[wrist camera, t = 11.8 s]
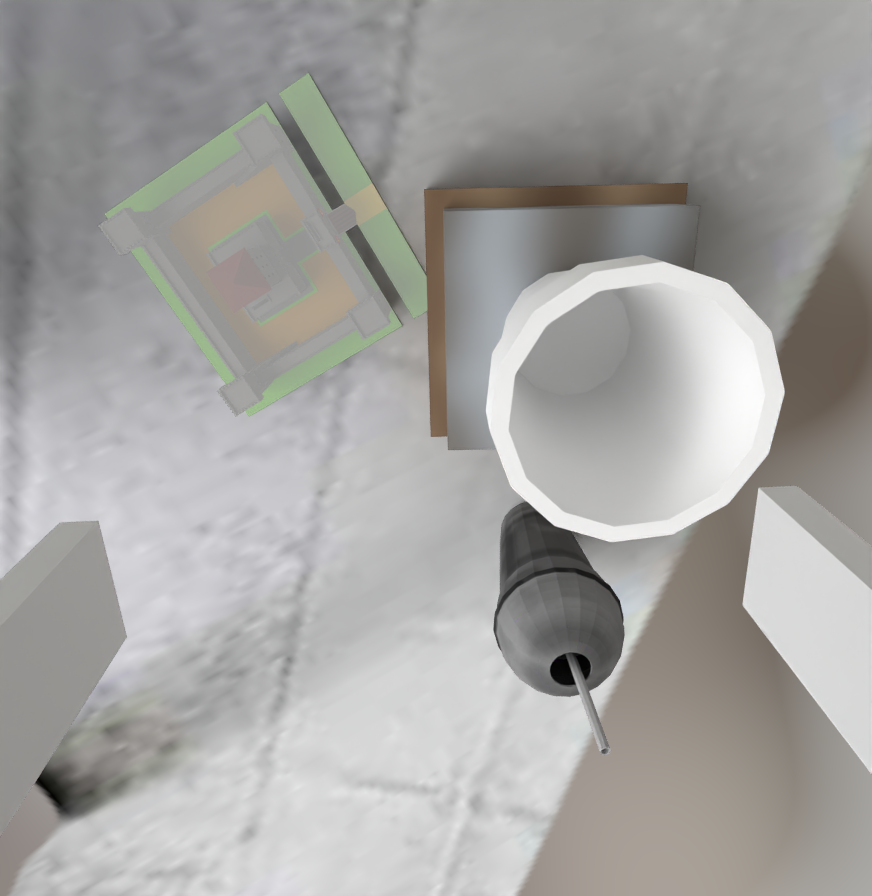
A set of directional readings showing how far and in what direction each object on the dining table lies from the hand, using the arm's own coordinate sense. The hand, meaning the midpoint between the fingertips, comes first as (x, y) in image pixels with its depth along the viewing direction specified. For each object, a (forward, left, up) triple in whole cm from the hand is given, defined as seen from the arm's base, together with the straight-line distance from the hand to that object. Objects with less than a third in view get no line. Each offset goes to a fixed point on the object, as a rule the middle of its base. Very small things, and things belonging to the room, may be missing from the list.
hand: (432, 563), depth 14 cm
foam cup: (+7, 0, -22) cm, 23 cm away
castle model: (-10, +3, -33) cm, 34 cm away
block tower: (+7, 0, -32) cm, 33 cm away
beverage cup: (+7, -16, -32) cm, 37 cm away
